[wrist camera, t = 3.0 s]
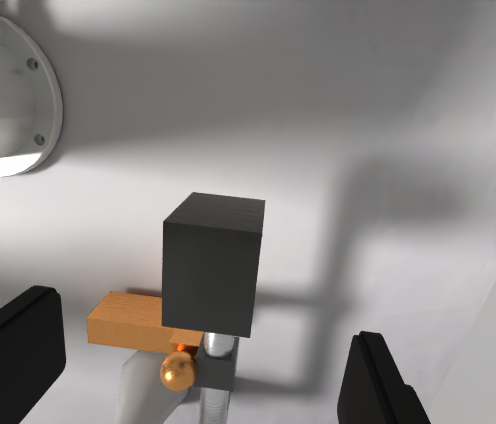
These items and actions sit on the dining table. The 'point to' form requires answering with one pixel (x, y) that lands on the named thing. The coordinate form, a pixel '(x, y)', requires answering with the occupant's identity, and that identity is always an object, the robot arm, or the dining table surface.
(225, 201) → the rod
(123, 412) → the flask
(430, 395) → the dining table surface
